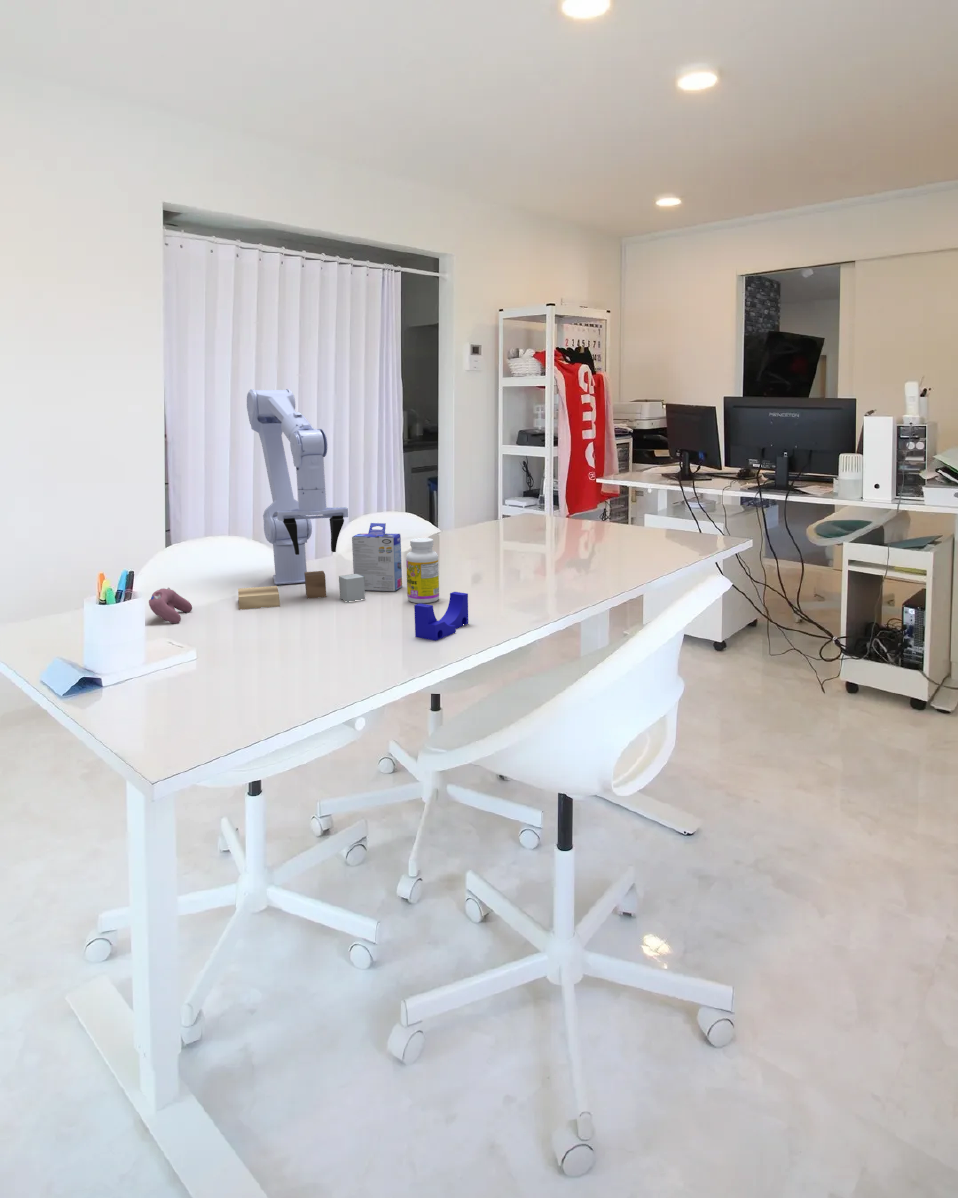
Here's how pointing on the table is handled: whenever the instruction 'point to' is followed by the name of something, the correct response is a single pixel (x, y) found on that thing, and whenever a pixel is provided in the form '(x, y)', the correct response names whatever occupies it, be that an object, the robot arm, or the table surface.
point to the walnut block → (315, 584)
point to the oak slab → (258, 597)
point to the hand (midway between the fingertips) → (315, 552)
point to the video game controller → (168, 605)
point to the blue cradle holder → (447, 624)
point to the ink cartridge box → (378, 559)
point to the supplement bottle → (422, 572)
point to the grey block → (351, 587)
